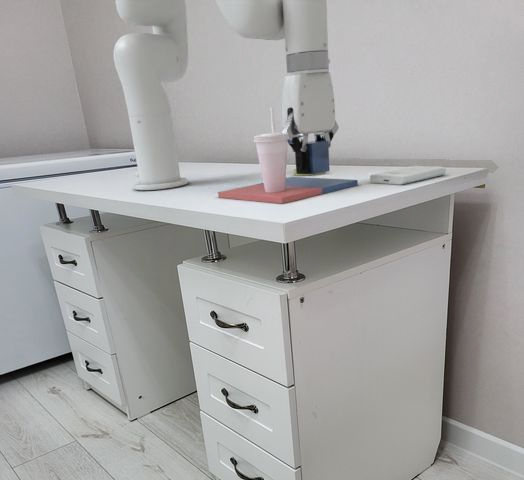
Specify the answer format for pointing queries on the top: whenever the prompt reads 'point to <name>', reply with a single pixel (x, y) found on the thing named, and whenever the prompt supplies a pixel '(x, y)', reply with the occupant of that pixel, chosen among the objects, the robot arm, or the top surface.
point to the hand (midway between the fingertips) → (312, 170)
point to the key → (305, 174)
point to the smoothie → (272, 157)
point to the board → (289, 190)
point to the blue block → (318, 156)
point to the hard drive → (407, 175)
